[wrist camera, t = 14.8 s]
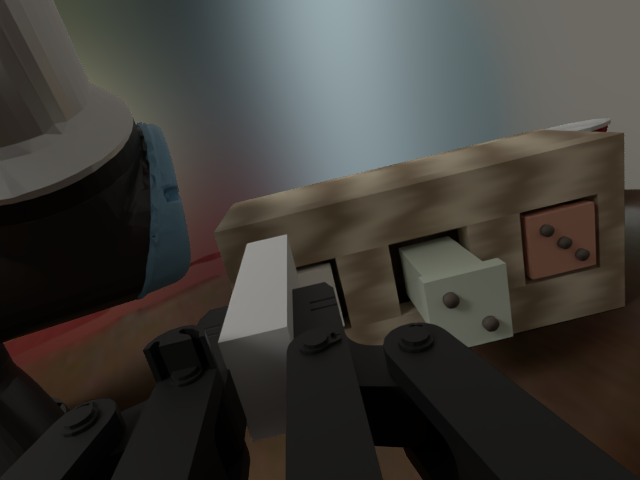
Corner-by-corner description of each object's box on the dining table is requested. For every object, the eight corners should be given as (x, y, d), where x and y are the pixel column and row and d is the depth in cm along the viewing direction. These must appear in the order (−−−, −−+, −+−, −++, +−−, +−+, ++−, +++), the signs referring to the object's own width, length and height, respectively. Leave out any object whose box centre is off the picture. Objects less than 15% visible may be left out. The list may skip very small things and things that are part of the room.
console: (266, 394, 33) (213, 232, 29) (271, 329, 43) (233, 203, 39) (624, 306, 33) (623, 132, 29) (546, 262, 43) (537, 129, 39)
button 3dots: (536, 281, 31) (531, 219, 29) (485, 248, 39) (479, 198, 37) (599, 266, 31) (598, 203, 29) (535, 235, 39) (532, 185, 37)
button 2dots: (437, 358, 25) (425, 286, 23) (401, 300, 33) (390, 243, 31) (516, 339, 25) (509, 265, 23) (461, 286, 33) (453, 228, 31)
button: (281, 343, 31) (264, 285, 29) (283, 297, 39) (269, 249, 37) (345, 328, 31) (331, 268, 29) (334, 285, 39) (322, 236, 37)
